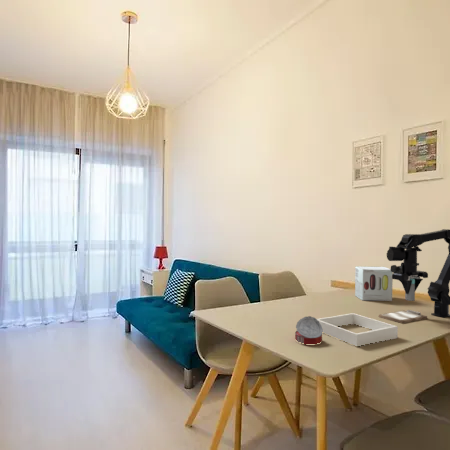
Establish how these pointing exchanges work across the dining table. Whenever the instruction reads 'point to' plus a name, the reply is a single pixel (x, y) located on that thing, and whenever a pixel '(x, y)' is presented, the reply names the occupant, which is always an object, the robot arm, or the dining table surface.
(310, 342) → the canned food
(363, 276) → the supplement box
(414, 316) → the clipboard
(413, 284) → the marker
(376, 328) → the lotus tray rim
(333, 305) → the dining table surface
